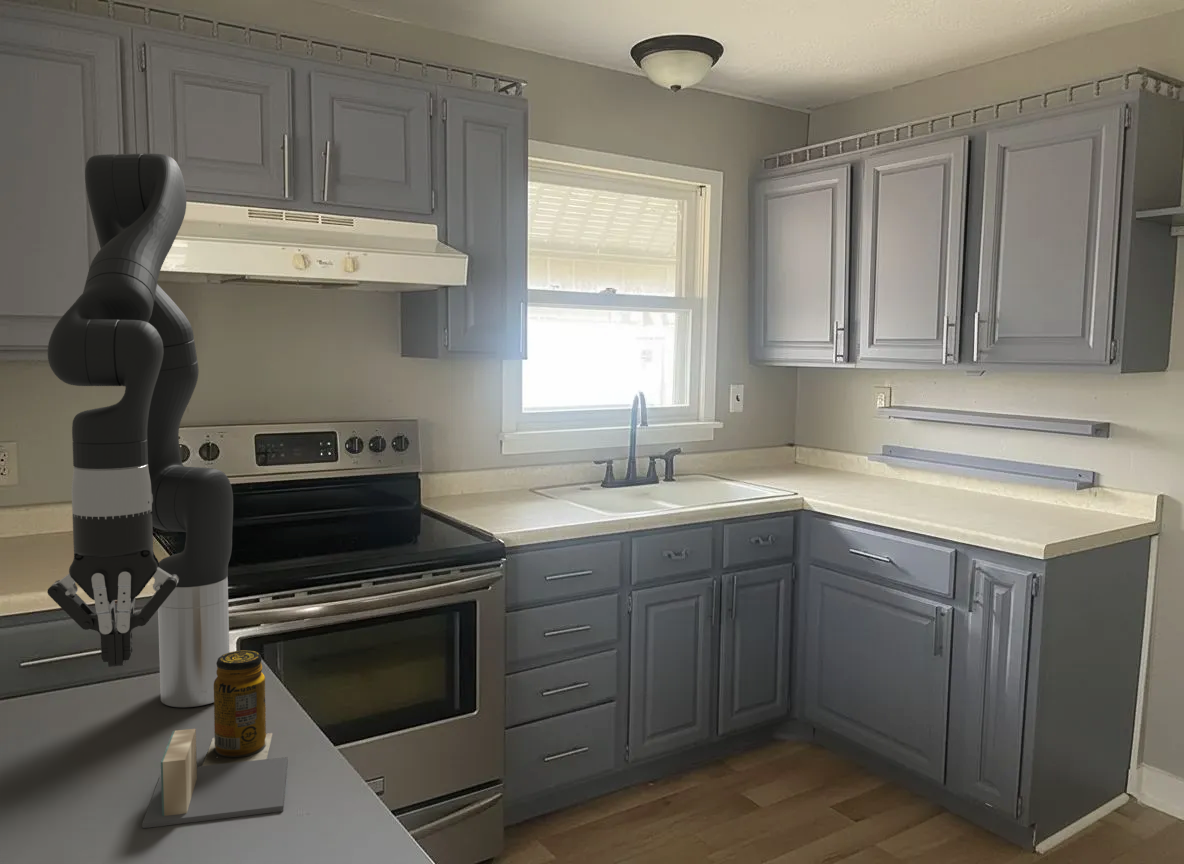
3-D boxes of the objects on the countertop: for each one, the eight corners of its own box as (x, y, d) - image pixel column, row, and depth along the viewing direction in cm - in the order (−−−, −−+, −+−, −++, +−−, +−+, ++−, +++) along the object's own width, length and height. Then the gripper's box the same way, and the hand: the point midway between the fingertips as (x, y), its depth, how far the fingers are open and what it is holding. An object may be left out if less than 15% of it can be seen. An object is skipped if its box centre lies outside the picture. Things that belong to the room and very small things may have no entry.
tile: (160, 762, 95) (173, 730, 103) (162, 816, 96) (174, 780, 103) (185, 759, 96) (195, 728, 103) (186, 813, 96) (197, 778, 104)
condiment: (272, 734, 117) (270, 645, 116) (265, 764, 109) (264, 668, 108) (212, 739, 115) (210, 649, 114) (201, 770, 107) (199, 673, 106)
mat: (162, 775, 106) (162, 770, 106) (287, 761, 110) (287, 756, 110) (142, 828, 94) (142, 822, 94) (283, 810, 98) (283, 805, 98)
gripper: (31, 516, 90) (39, 682, 92) (175, 511, 94) (179, 670, 96) (51, 503, 97) (57, 658, 99) (184, 499, 101) (188, 647, 103)
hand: (117, 663), depth 97 cm, fingers closed
